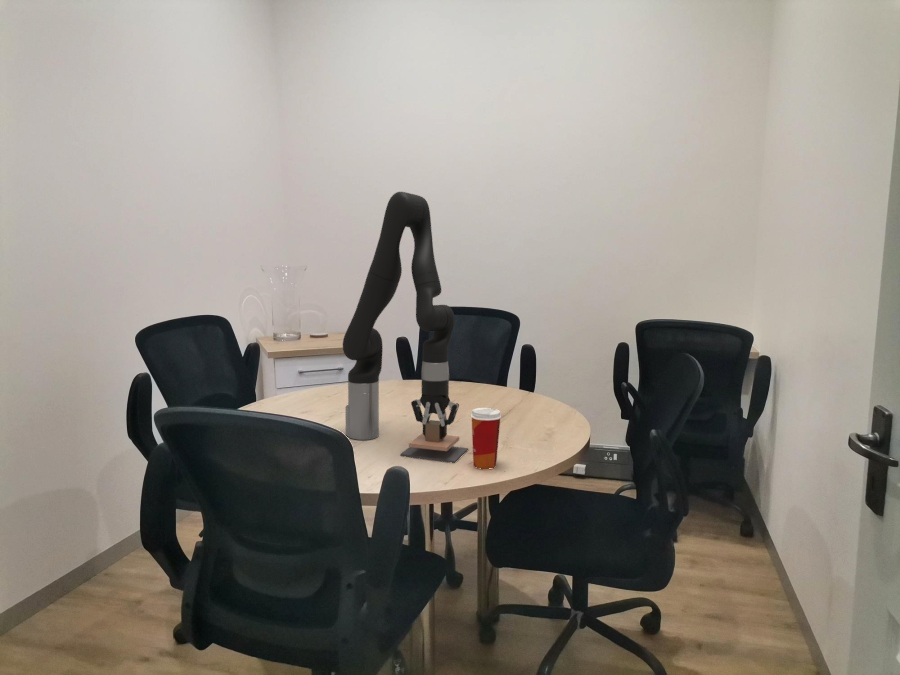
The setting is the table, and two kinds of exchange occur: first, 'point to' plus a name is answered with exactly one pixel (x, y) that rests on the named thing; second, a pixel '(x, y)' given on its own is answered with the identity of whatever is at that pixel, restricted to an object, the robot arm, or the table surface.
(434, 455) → the mat
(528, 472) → the table surface
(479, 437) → the coffee cup
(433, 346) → the robot arm
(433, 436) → the cover
